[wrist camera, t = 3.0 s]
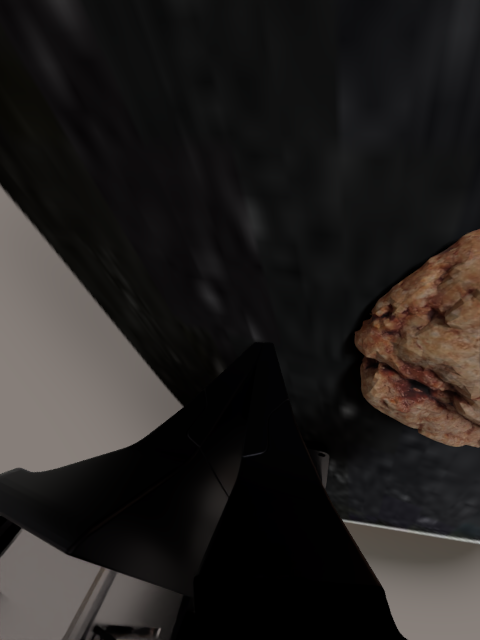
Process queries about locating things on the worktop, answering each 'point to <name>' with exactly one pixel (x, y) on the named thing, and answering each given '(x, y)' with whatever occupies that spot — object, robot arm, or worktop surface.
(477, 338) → the cookie
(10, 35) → the worktop surface
